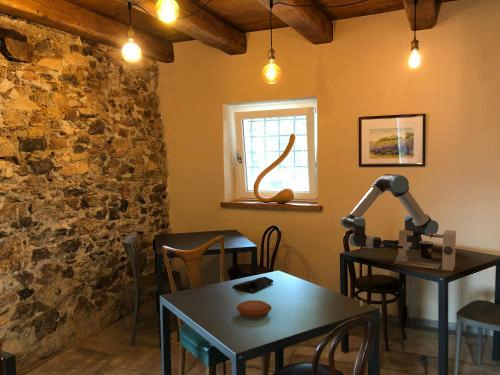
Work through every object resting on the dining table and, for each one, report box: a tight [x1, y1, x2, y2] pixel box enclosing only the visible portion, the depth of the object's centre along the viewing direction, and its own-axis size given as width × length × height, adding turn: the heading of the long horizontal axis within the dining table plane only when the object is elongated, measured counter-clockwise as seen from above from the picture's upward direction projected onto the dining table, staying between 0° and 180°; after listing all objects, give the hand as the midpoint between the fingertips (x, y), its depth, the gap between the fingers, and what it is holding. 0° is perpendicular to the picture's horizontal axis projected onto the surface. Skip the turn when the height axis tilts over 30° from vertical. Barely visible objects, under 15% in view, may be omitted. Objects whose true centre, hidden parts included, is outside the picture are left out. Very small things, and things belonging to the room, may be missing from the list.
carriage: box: [395, 229, 413, 262], centre depth 276 cm, size 7×9×19 cm
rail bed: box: [393, 259, 442, 270], centre depth 273 cm, size 11×26×1 cm, turn 60°
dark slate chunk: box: [232, 276, 274, 294], centre depth 232 cm, size 15×22×5 cm
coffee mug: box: [415, 240, 434, 260], centre depth 290 cm, size 12×9×10 cm
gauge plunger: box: [429, 233, 443, 239], centre depth 266 cm, size 3×10×3 cm, turn 60°
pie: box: [235, 299, 273, 320], centre depth 192 cm, size 16×16×5 cm
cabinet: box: [441, 229, 457, 272], centre depth 263 cm, size 13×6×22 cm, turn 150°
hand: (410, 246), depth 274 cm, fingers open, 9 cm apart
